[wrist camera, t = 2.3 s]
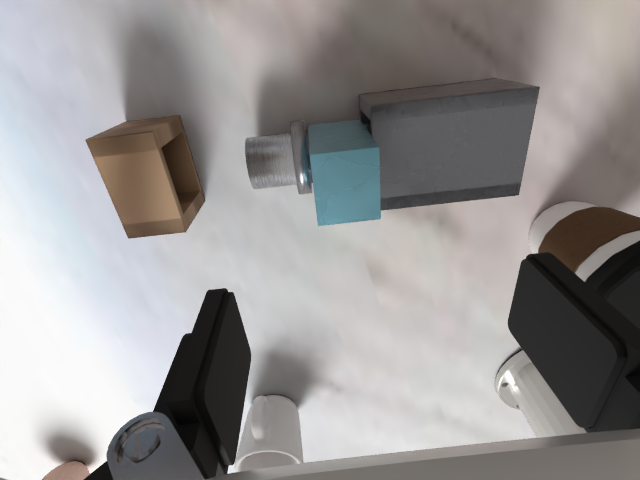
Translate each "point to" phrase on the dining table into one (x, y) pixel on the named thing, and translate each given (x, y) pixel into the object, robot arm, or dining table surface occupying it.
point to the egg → (68, 472)
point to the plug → (322, 167)
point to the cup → (270, 435)
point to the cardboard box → (149, 175)
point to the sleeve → (450, 140)
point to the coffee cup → (595, 250)
